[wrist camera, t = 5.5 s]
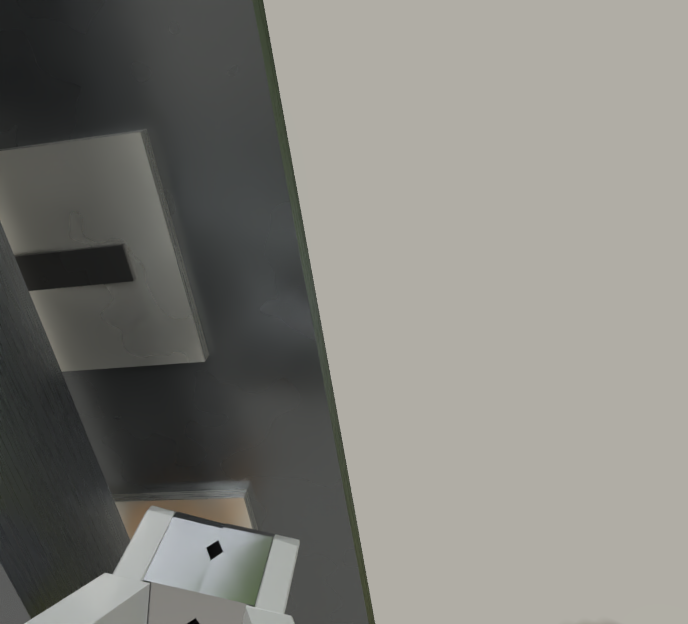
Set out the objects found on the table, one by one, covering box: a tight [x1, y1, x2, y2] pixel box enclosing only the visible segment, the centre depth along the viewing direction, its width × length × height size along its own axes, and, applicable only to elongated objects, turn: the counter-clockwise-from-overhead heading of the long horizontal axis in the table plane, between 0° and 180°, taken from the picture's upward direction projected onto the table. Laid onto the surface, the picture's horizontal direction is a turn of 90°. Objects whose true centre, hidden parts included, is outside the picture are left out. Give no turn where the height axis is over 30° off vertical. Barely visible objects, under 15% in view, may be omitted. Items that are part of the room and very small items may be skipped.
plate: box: [0, 0, 375, 624], centre depth 15 cm, size 12×22×1 cm, turn 8°
